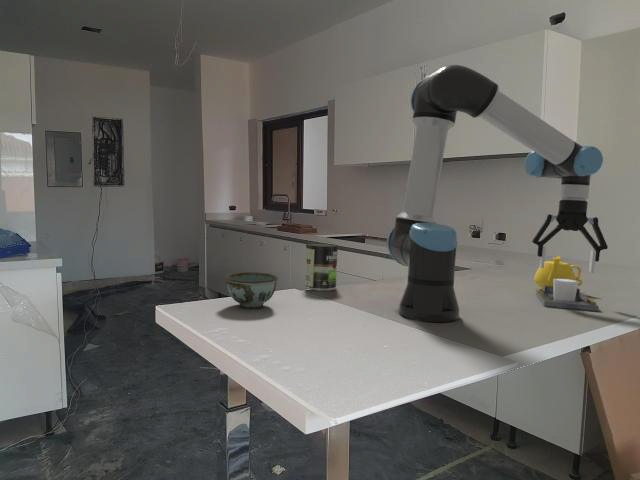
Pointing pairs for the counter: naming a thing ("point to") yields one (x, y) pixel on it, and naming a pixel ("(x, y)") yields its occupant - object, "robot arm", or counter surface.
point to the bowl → (251, 288)
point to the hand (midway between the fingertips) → (566, 270)
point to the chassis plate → (584, 304)
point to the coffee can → (321, 266)
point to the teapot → (555, 272)
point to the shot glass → (564, 289)
